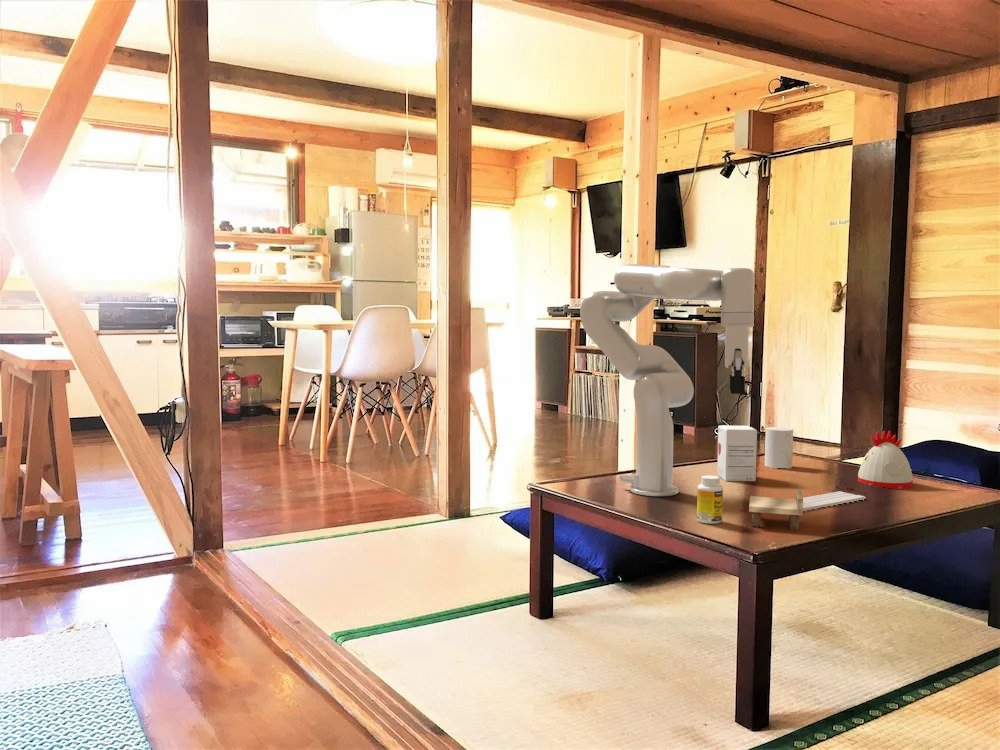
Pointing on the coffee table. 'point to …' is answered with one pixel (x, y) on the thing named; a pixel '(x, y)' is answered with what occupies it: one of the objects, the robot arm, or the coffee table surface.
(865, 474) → the kitchen timer
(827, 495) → the baseboard
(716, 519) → the supplement bottle
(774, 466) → the cup
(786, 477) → the coffee table surface
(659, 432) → the robot arm
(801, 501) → the shelf
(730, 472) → the supplement box
